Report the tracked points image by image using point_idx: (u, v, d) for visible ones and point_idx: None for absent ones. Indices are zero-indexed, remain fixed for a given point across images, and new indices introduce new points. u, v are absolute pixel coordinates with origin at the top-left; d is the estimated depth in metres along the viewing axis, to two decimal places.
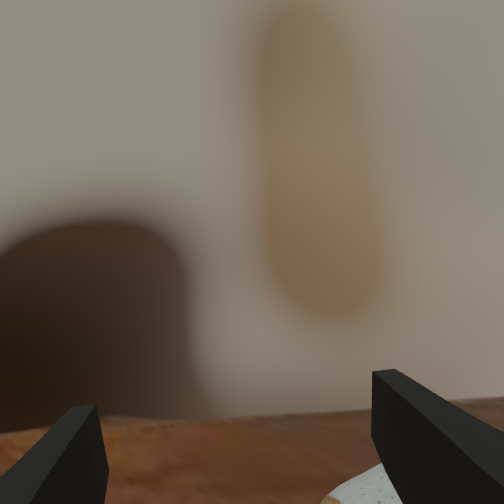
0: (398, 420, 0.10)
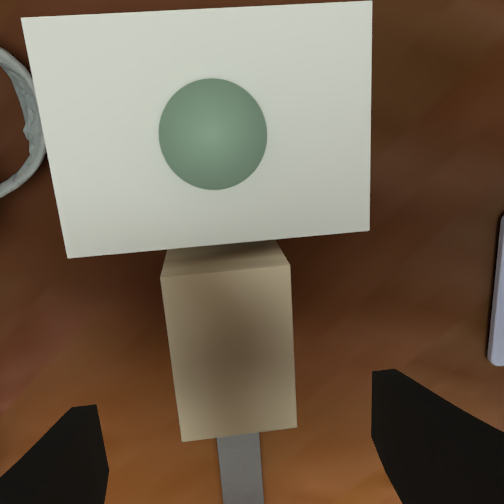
0: (398, 420, 0.10)
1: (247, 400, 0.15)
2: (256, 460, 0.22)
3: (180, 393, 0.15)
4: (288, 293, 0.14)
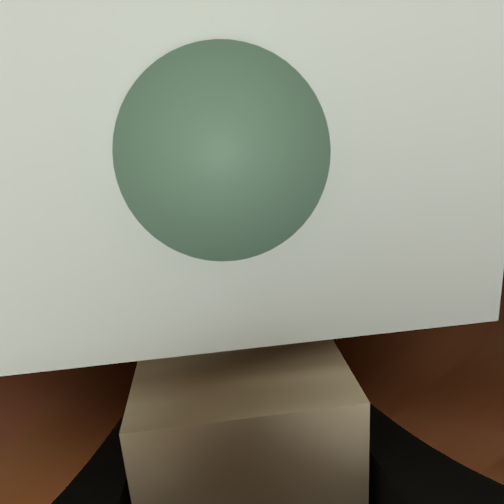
0: None
1: None
2: None
3: None
4: (363, 451, 0.08)
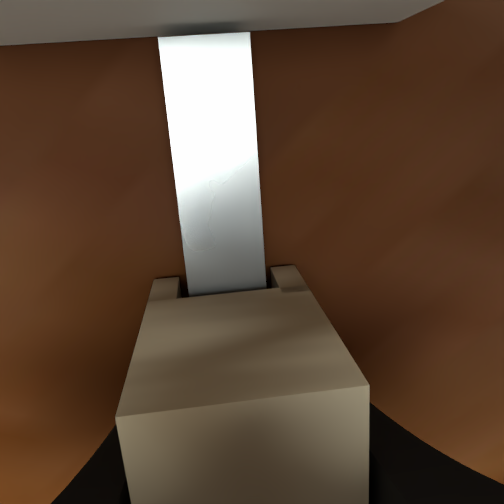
0: None
1: None
2: None
3: None
4: (363, 434, 0.08)
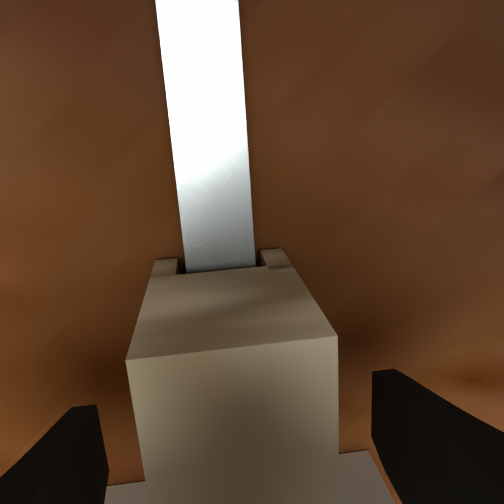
0: (398, 420, 0.10)
1: None
2: None
3: None
4: (333, 379, 0.09)
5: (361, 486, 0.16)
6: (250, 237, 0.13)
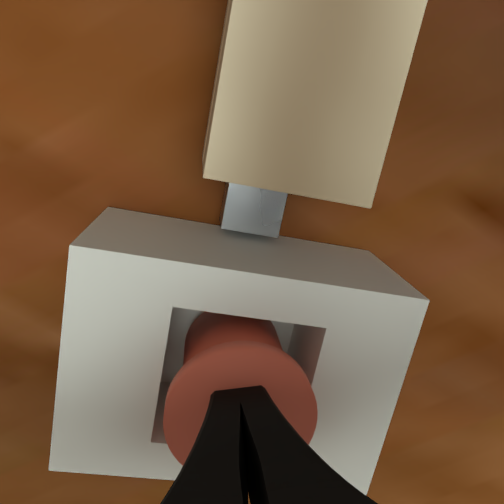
0: (246, 439, 0.10)
1: (317, 138, 0.10)
2: None
3: (225, 90, 0.10)
4: None
5: (363, 260, 0.16)
6: None
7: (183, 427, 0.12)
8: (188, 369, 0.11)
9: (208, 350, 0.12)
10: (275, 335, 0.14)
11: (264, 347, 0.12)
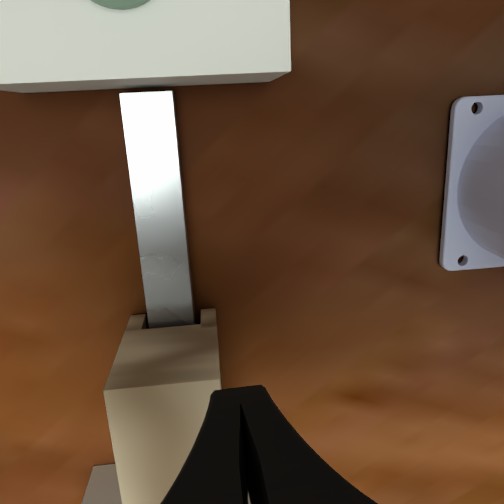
0: (246, 440, 0.10)
1: None
2: None
3: (123, 485, 0.17)
4: None
5: None
6: (190, 305, 0.20)
7: None
8: None
9: None
10: None
11: None
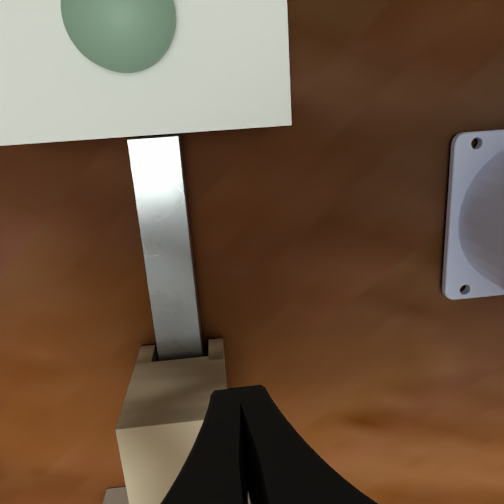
0: (246, 439, 0.10)
1: None
2: None
3: None
4: None
5: None
6: (198, 338, 0.21)
7: None
8: None
9: None
10: None
11: None
